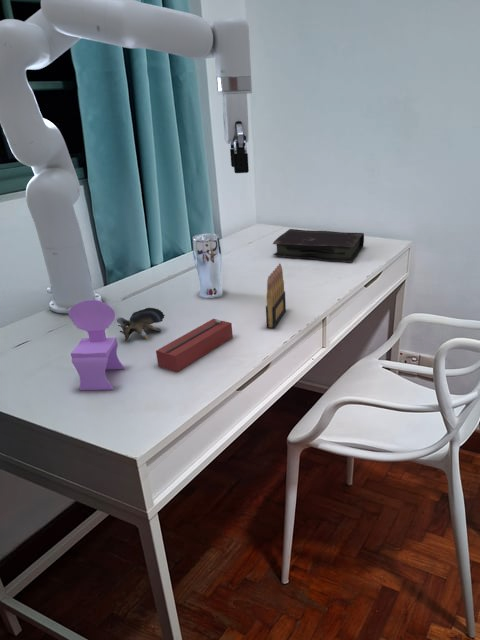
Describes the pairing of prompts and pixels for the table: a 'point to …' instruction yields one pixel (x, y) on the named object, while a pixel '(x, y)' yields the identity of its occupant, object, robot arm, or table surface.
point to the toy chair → (94, 344)
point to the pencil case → (194, 345)
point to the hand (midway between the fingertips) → (239, 169)
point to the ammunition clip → (275, 298)
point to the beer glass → (208, 264)
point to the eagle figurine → (140, 322)
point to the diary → (319, 245)
